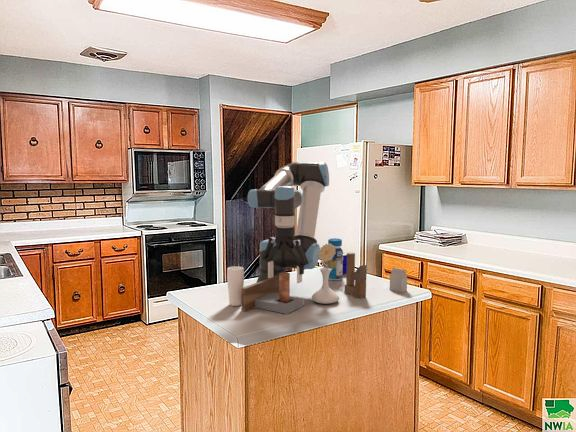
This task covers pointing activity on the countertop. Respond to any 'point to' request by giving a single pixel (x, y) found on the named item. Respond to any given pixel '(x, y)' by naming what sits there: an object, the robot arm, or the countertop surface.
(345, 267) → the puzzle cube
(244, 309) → the backstop board
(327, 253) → the flower in vase
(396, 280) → the tea bag
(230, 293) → the drinking glass
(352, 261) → the wooden block
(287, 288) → the dowel
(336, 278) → the beverage bottle
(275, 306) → the holed block
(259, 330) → the countertop surface
